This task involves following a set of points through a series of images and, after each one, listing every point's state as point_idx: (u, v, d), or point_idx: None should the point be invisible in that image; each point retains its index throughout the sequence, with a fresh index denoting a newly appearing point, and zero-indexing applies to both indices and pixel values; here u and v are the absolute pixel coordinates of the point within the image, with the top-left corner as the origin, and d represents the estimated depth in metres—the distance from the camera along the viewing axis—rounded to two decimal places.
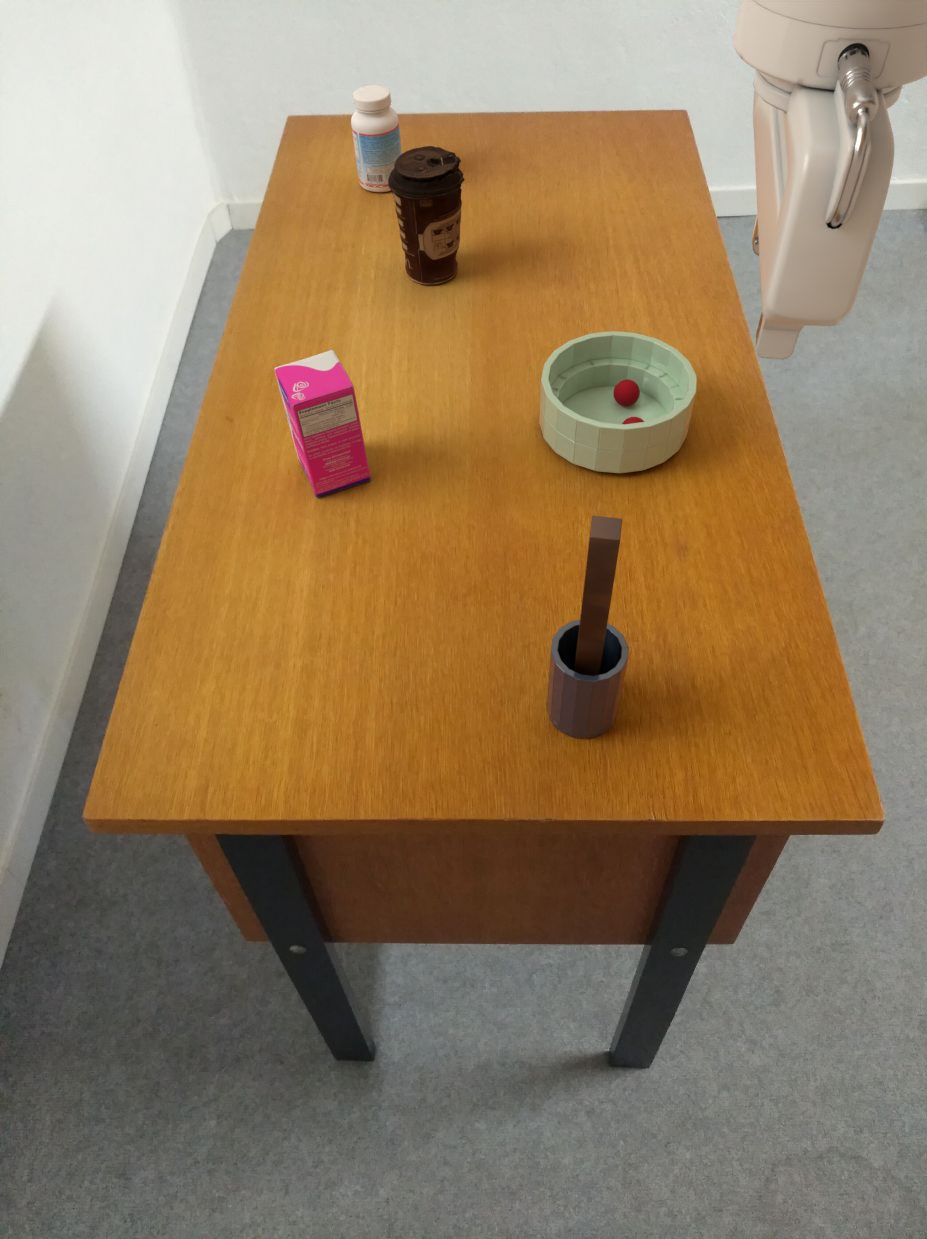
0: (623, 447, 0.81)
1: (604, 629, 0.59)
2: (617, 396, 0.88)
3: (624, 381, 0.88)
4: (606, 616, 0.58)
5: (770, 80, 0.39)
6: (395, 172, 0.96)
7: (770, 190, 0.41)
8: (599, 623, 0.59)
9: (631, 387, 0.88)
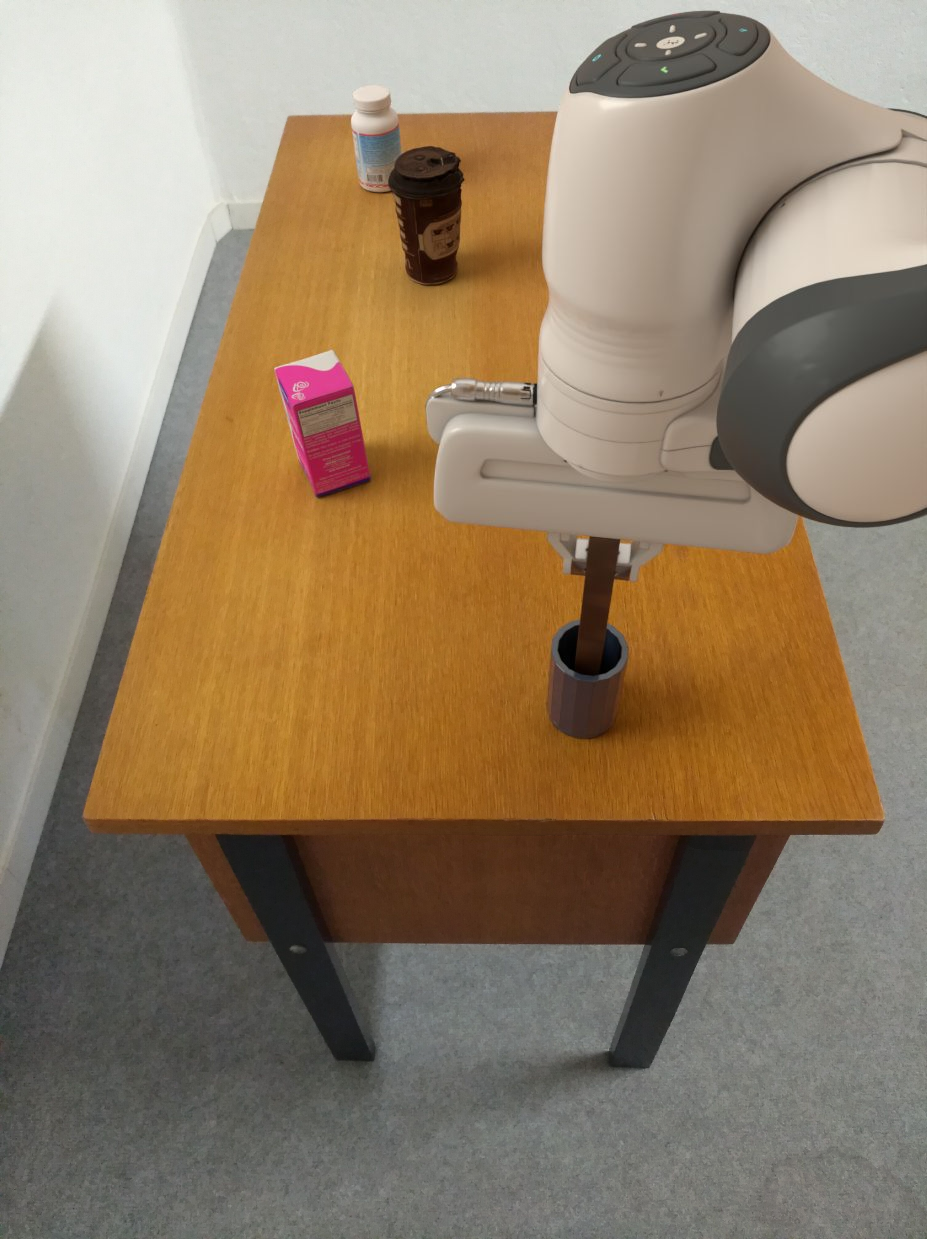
0: None
1: (604, 629, 0.59)
2: None
3: None
4: (606, 616, 0.58)
5: None
6: (395, 172, 0.96)
7: None
8: (599, 623, 0.59)
9: None
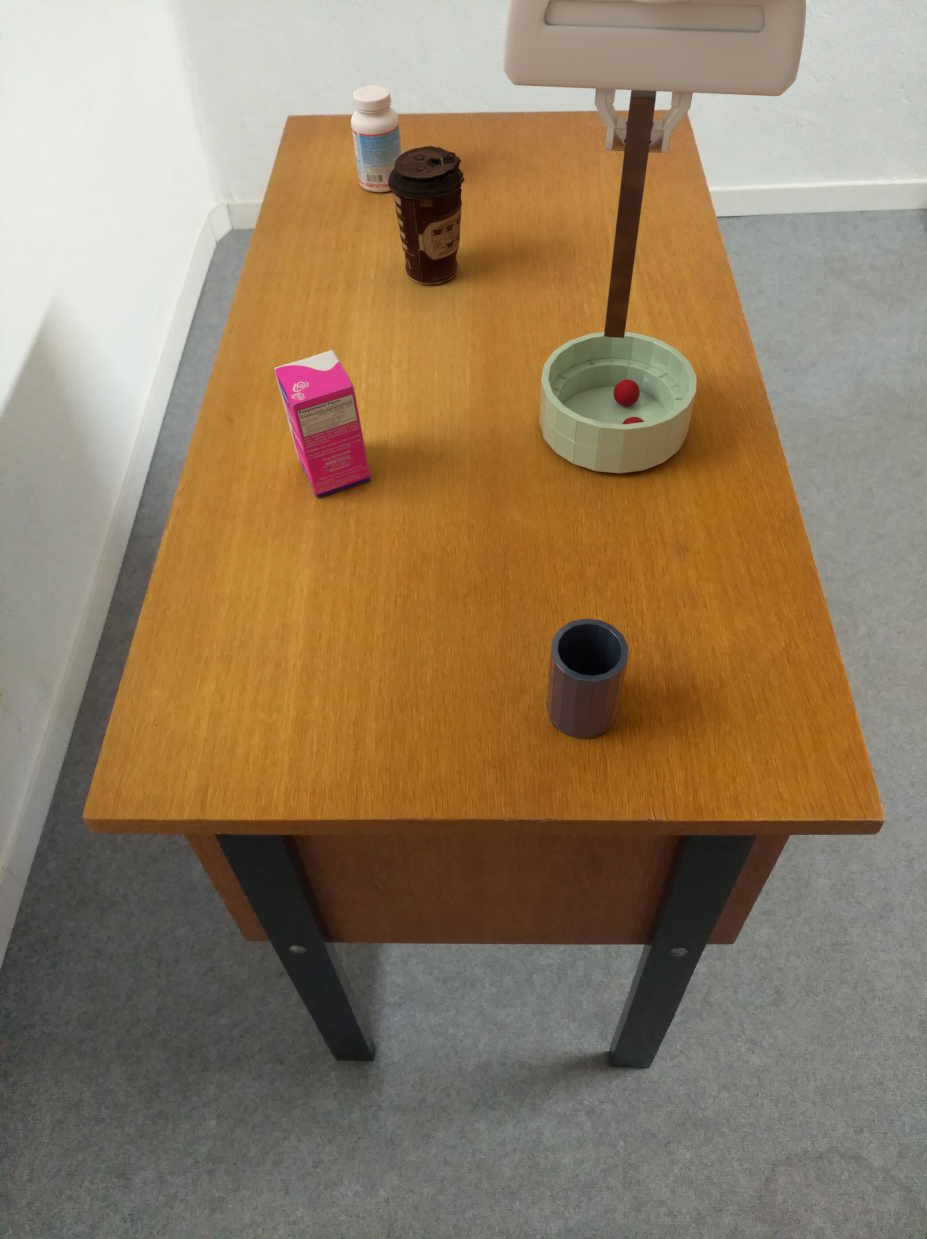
0: (623, 447, 0.81)
1: (638, 217, 0.71)
2: (617, 396, 0.88)
3: (624, 381, 0.88)
4: (640, 200, 0.69)
5: None
6: (395, 172, 0.96)
7: None
8: (634, 210, 0.70)
9: (631, 387, 0.88)
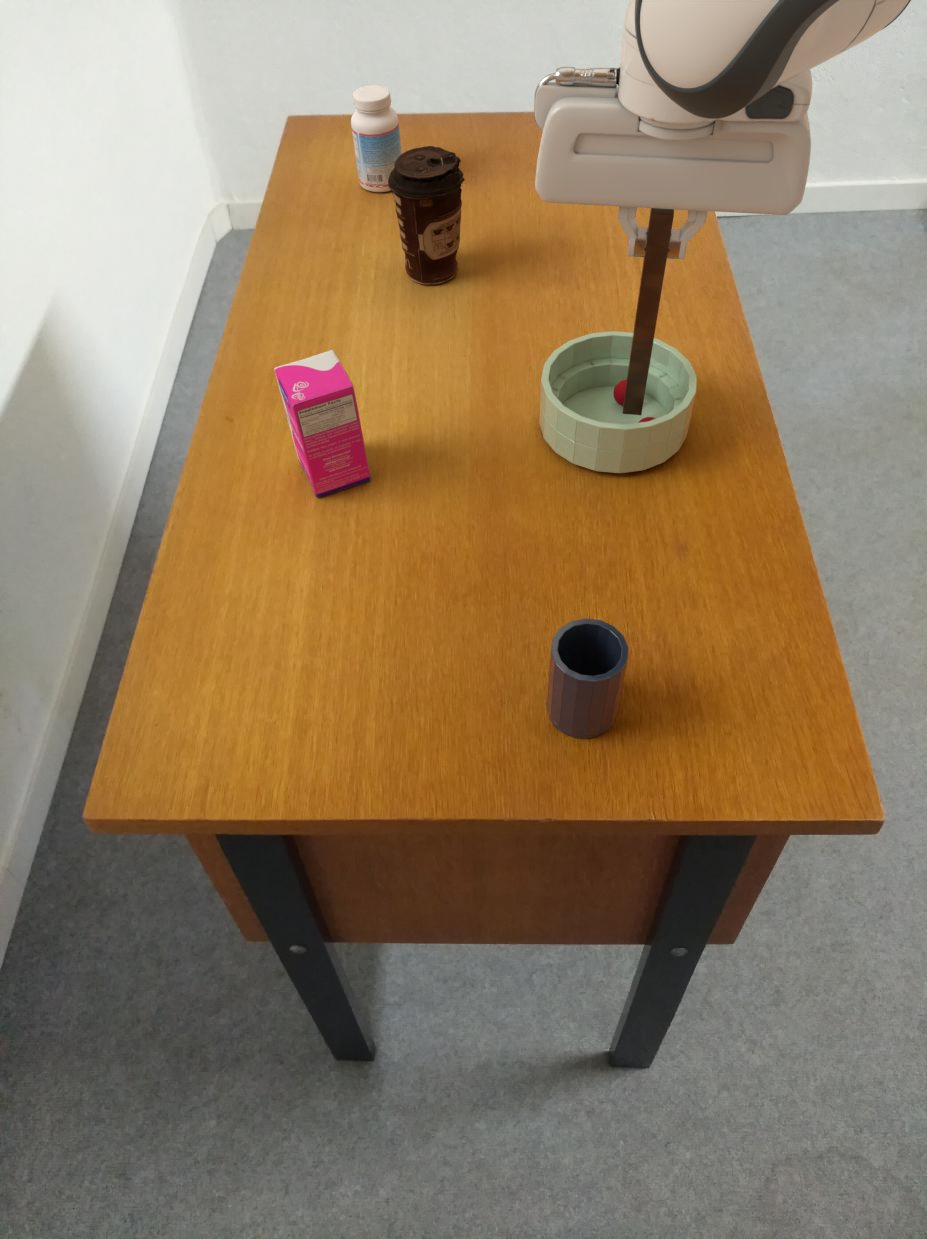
0: (623, 447, 0.81)
1: (656, 313, 0.77)
2: (617, 396, 0.88)
3: (624, 381, 0.88)
4: (658, 299, 0.76)
5: None
6: (395, 172, 0.96)
7: None
8: (653, 307, 0.76)
9: None
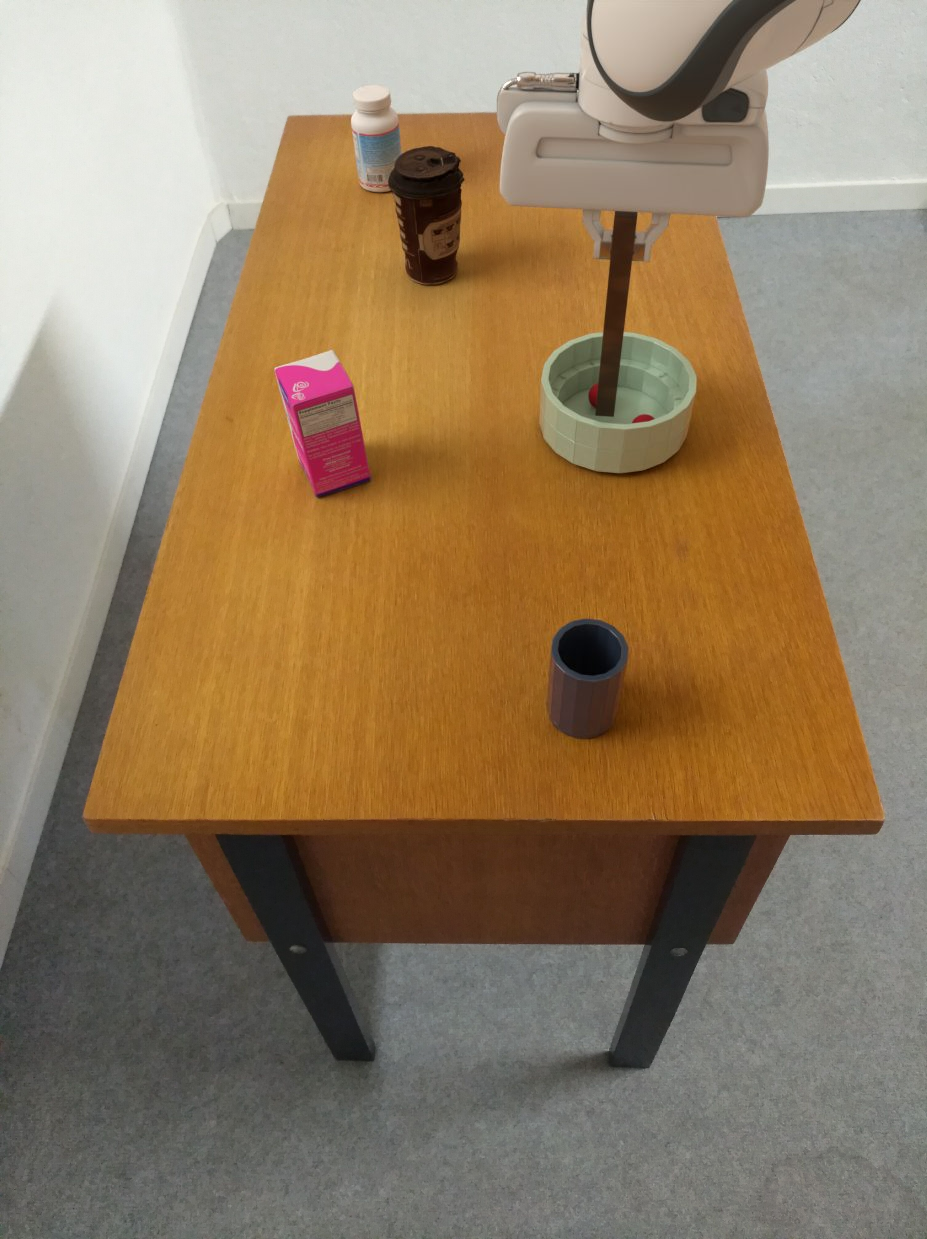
0: (623, 447, 0.81)
1: (624, 315, 0.77)
2: None
3: None
4: (625, 301, 0.76)
5: None
6: (395, 172, 0.96)
7: None
8: (620, 309, 0.77)
9: (591, 403, 0.89)
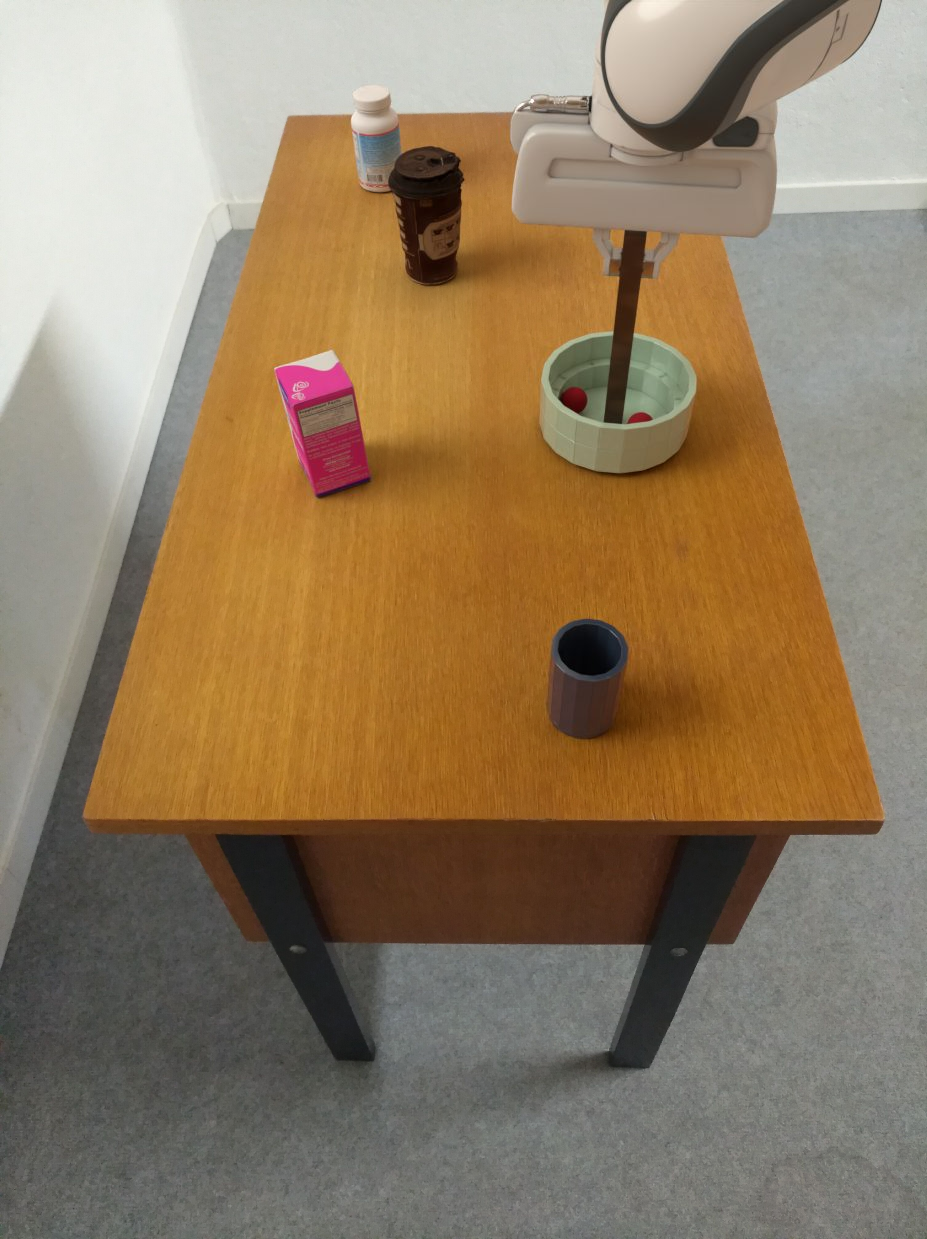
0: (623, 447, 0.81)
1: (632, 330, 0.79)
2: (584, 395, 0.88)
3: None
4: (634, 316, 0.78)
5: None
6: (395, 172, 0.96)
7: None
8: (629, 324, 0.78)
9: None
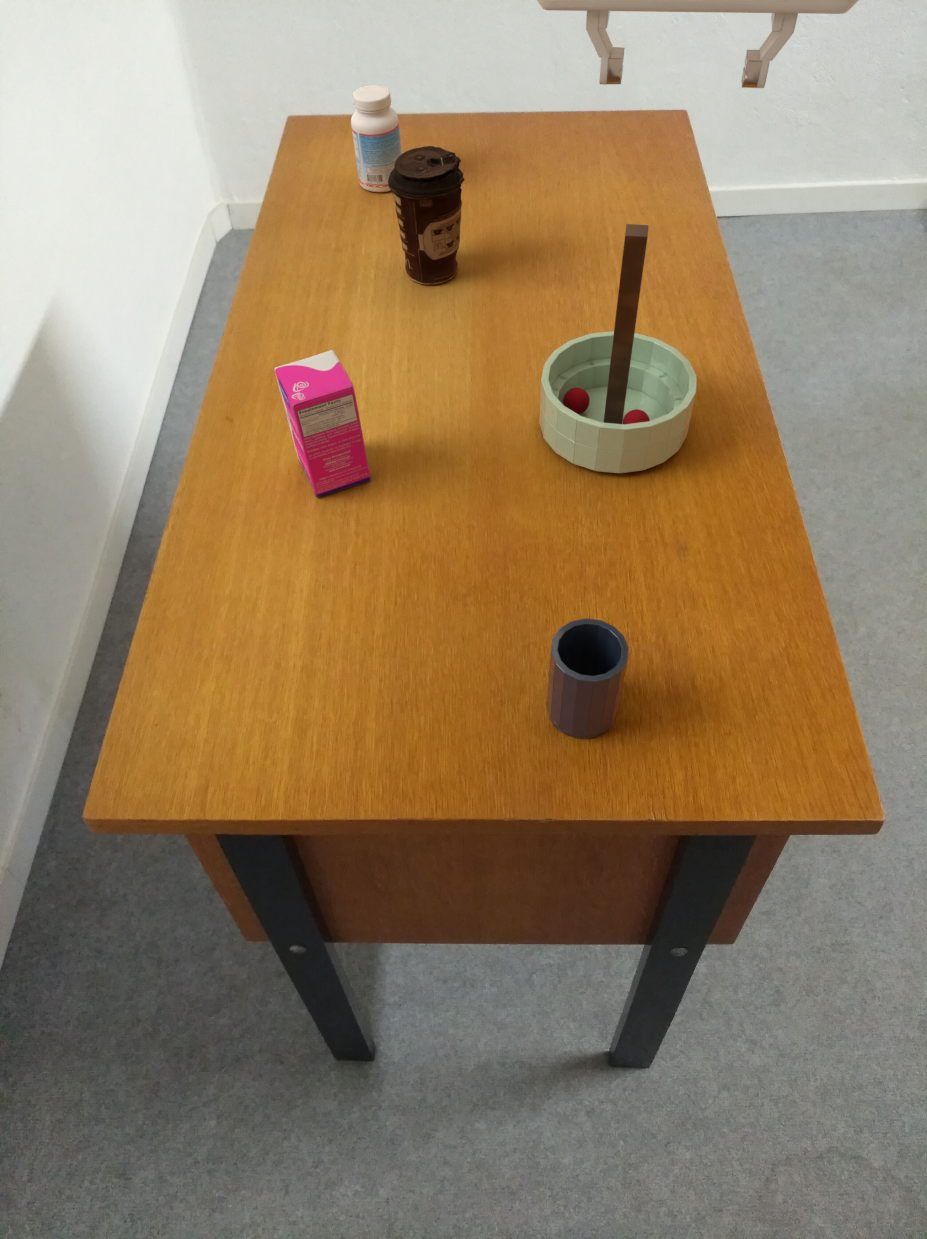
0: (623, 447, 0.81)
1: (633, 331, 0.79)
2: (587, 397, 0.88)
3: None
4: (635, 317, 0.78)
5: None
6: (395, 172, 0.96)
7: None
8: (630, 324, 0.78)
9: None
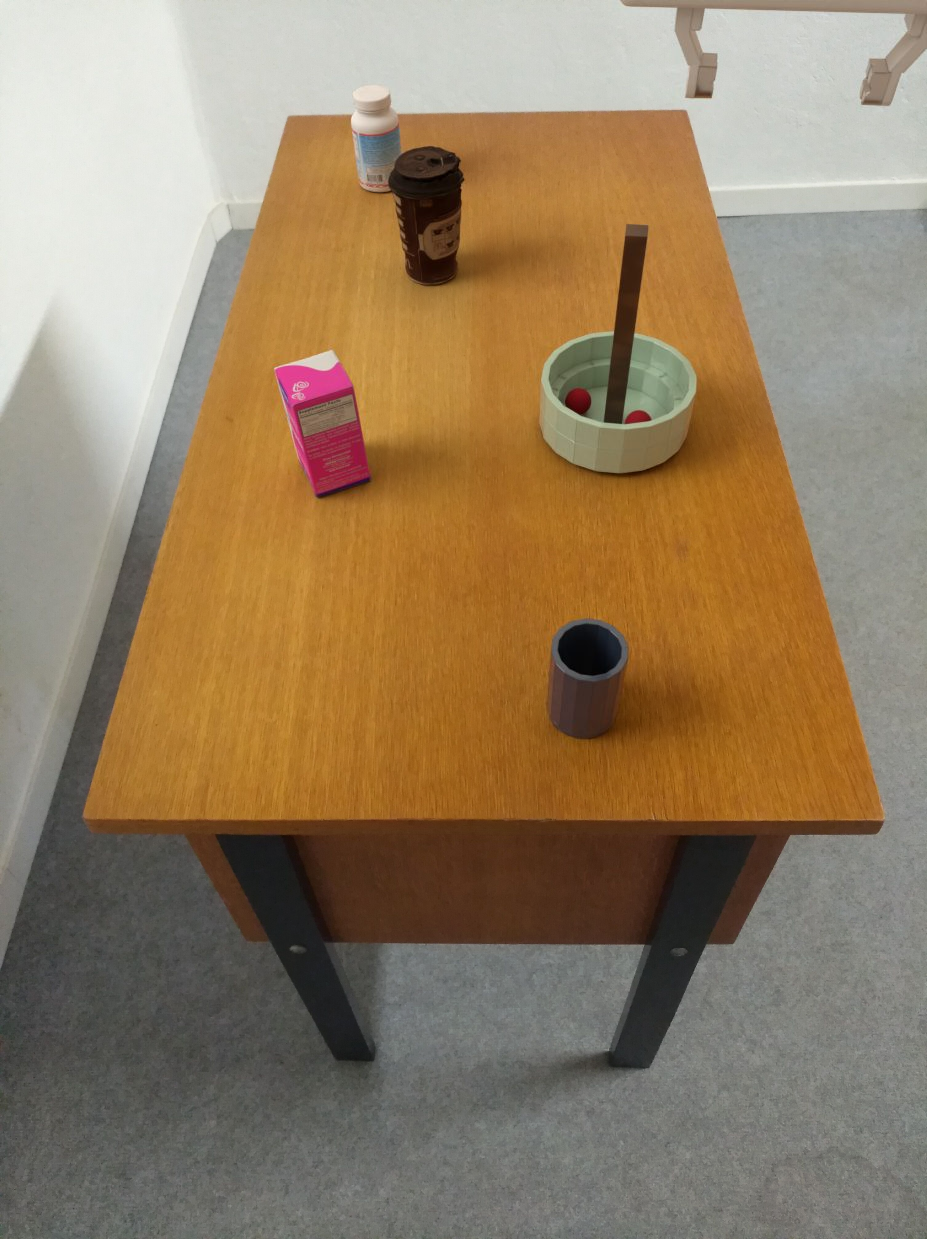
0: (623, 447, 0.81)
1: (633, 331, 0.79)
2: (590, 399, 0.88)
3: None
4: (635, 317, 0.78)
5: None
6: (395, 172, 0.96)
7: None
8: (630, 324, 0.78)
9: None
